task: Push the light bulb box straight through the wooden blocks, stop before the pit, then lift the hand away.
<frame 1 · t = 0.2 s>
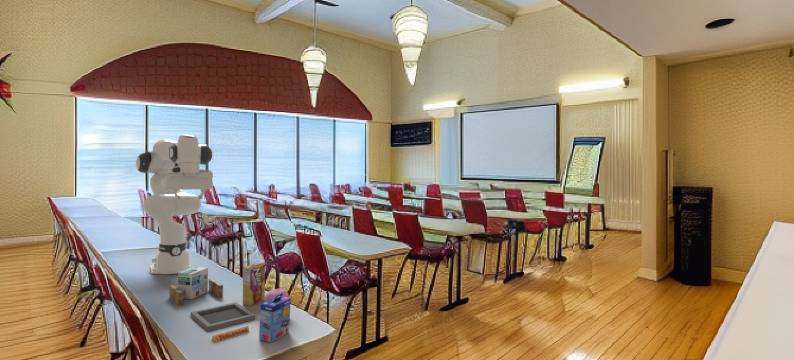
hand: (189, 199, 188), 39 cm above the table, tool pointing down, fingers open, 8 cm apart
pit: (223, 317, 151), on the table
light bulb box: (193, 295, 174), on the table
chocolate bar: (230, 337, 136), on the table
cupcake: (276, 315, 155), on the table
candy box: (253, 302, 169), on the table
ink cartridge box: (274, 336, 137), on the table
wooden blocks: (196, 297, 171), on the table
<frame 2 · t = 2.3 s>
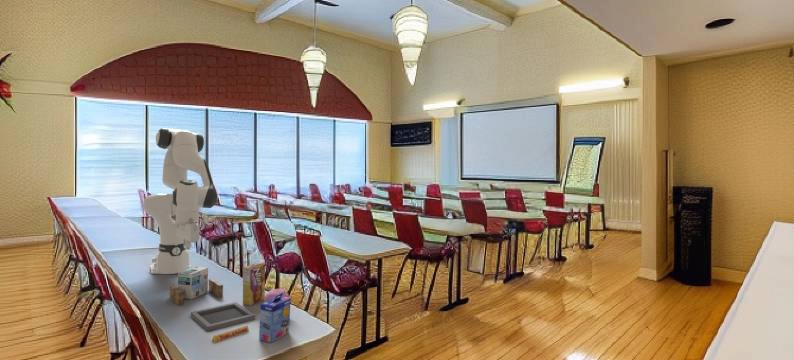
hand: (187, 248, 179), 18 cm above the table, tool pointing down, fingers closed
nothing on the table moved.
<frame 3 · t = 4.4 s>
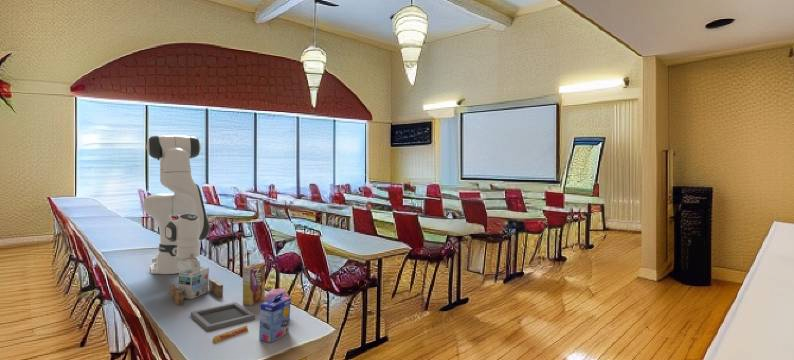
hand: (188, 283, 178), 3 cm above the table, tool pointing down, fingers closed
light bulb box: (193, 295, 174), on the table, touching gripper
everything else where it was.
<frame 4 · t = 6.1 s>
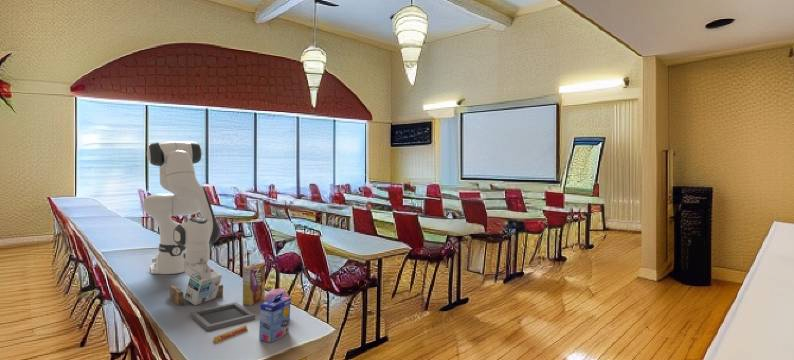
hand: (197, 289, 170), 3 cm above the table, tool pointing down, fingers closed
light bulb box: (200, 298, 167), point 1 cm above the table, touching gripper
everything else where it was.
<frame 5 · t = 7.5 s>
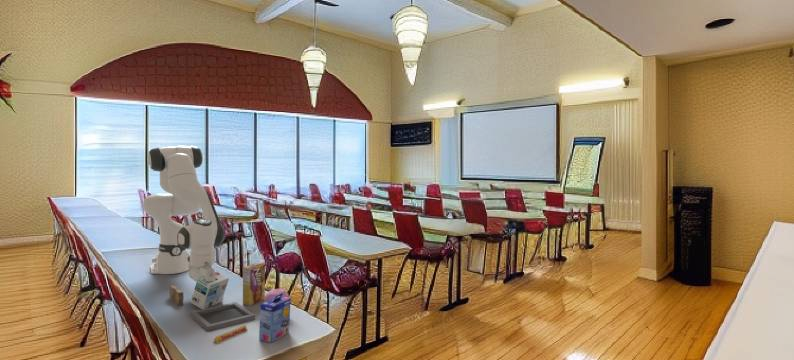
hand: (201, 293, 166), 3 cm above the table, tool pointing down, fingers closed
light bulb box: (206, 302, 163), point 1 cm above the table, touching gripper
everything else where it was.
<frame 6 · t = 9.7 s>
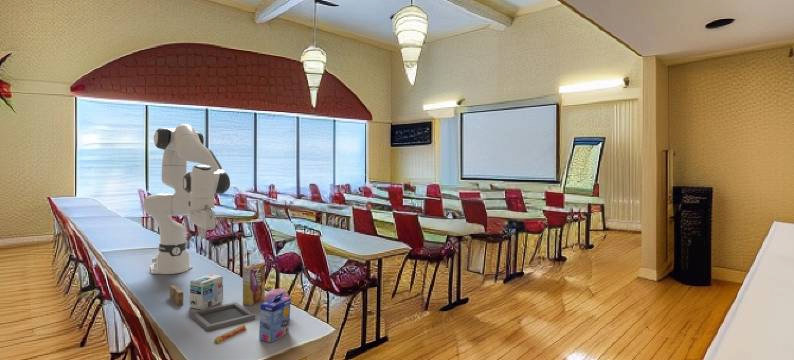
hand: (202, 236, 171), 25 cm above the table, tool pointing down, fingers closed
light bulb box: (206, 305, 163), on the table
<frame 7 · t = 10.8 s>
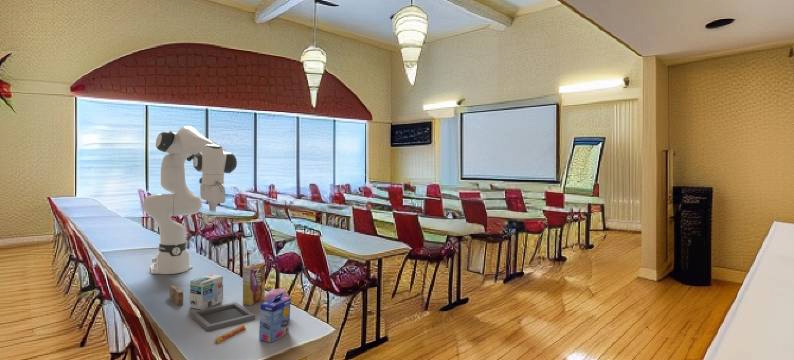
hand: (212, 211, 184), 34 cm above the table, tool pointing down, fingers closed
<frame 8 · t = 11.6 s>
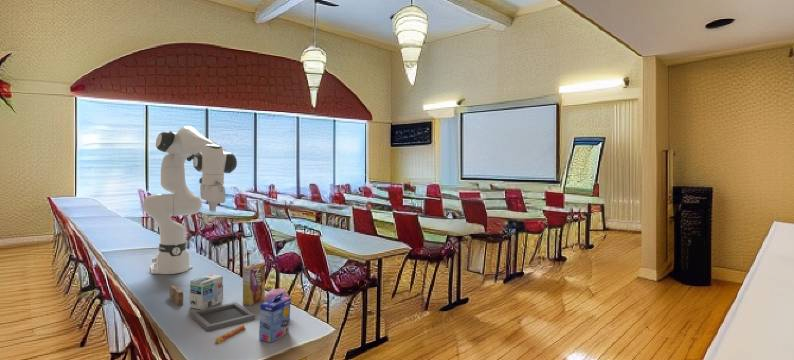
hand: (212, 211, 184), 34 cm above the table, tool pointing down, fingers closed
at the end: light bulb box inside the target area (2.1 cm from its centre), on the table; light bulb box touching table; light bulb box tilted 0° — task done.
